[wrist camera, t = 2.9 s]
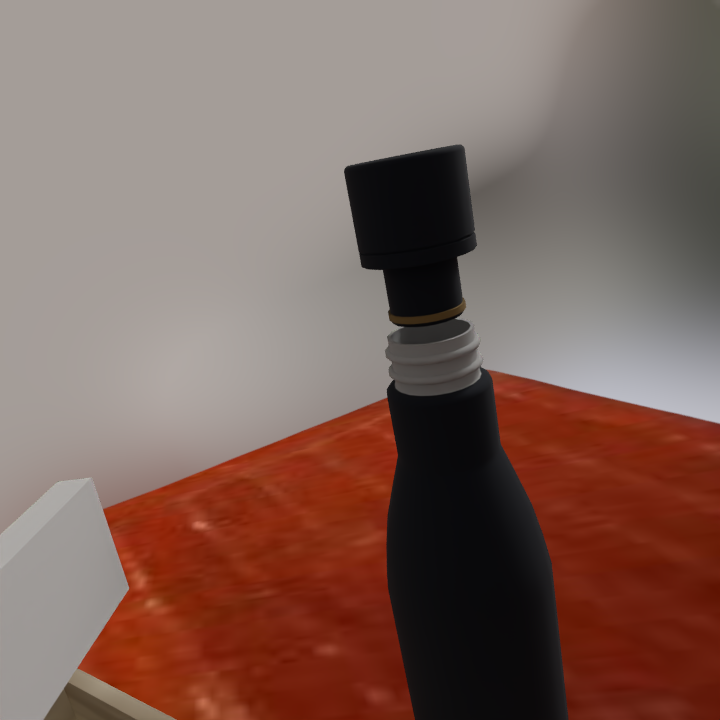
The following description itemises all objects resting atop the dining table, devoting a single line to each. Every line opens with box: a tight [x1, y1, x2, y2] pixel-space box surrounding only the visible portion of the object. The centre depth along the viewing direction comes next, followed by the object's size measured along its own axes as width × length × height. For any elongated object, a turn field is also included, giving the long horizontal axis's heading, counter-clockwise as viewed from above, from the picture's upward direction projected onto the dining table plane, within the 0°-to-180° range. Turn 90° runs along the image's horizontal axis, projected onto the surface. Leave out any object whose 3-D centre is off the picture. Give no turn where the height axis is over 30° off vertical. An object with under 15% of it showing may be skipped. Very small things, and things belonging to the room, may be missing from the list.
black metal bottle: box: [344, 145, 568, 720], centre depth 24 cm, size 6×6×30 cm
